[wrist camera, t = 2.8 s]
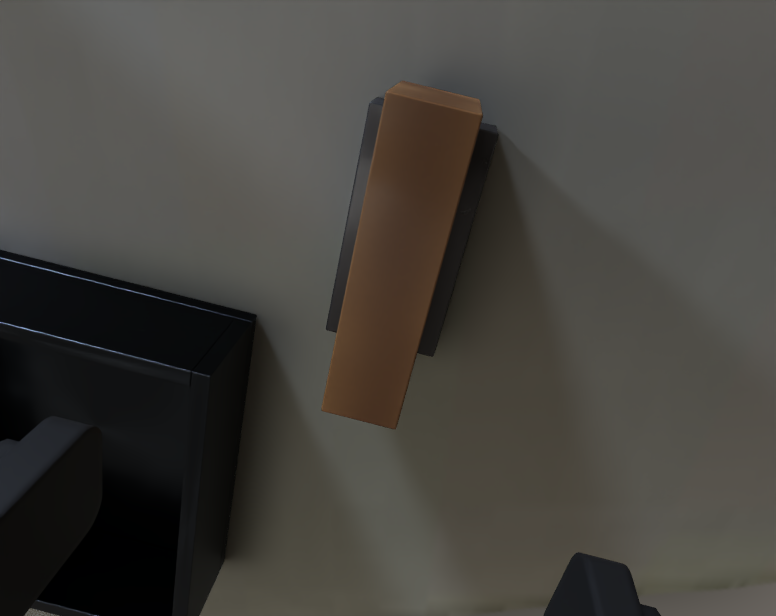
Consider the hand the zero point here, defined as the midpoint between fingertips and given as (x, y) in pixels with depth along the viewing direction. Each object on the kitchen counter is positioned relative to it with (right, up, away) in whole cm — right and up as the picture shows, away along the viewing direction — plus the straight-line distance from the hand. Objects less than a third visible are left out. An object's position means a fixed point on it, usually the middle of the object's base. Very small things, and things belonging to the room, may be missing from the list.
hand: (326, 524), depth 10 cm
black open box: (-15, -2, +23) cm, 27 cm away
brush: (+2, +7, +16) cm, 18 cm away
